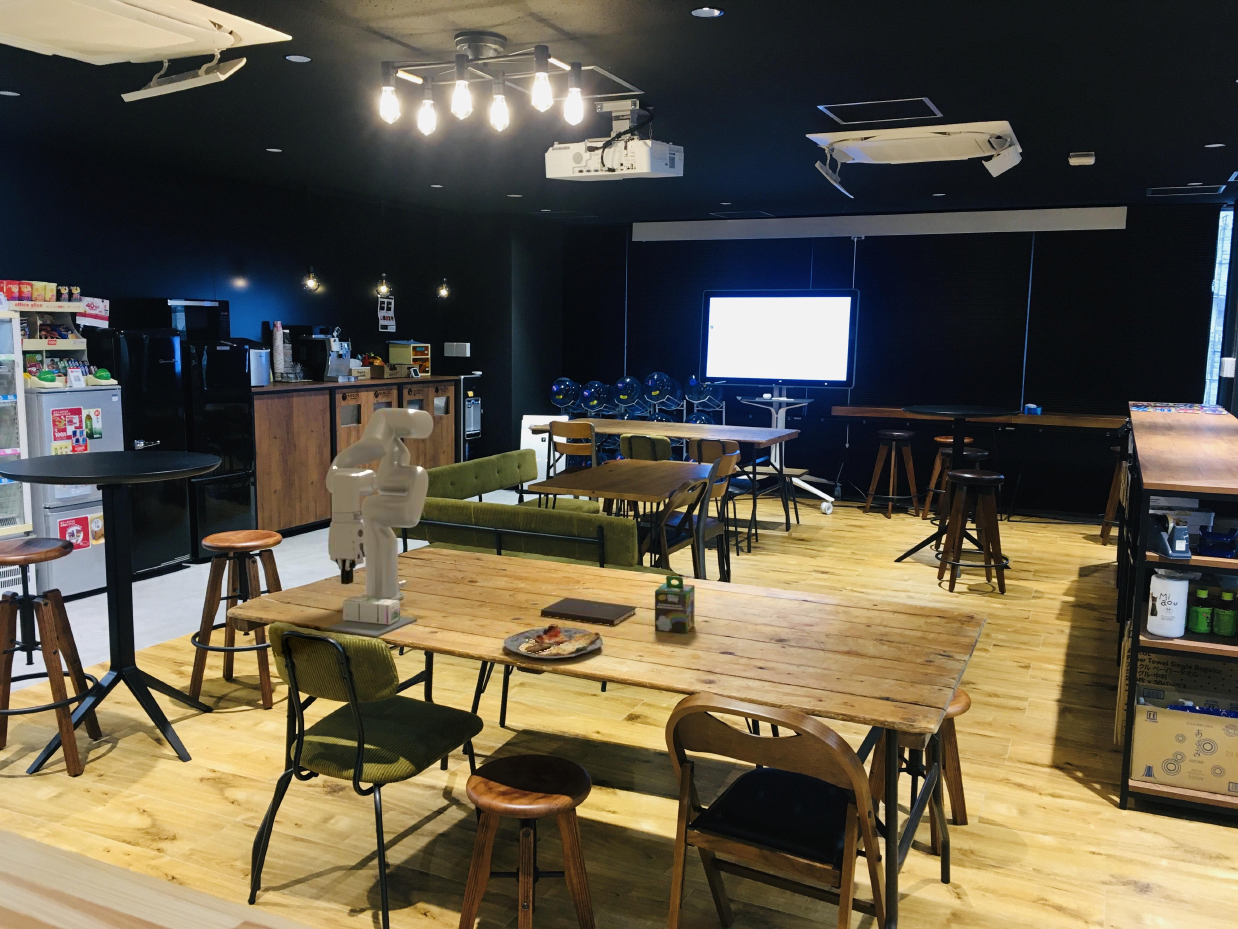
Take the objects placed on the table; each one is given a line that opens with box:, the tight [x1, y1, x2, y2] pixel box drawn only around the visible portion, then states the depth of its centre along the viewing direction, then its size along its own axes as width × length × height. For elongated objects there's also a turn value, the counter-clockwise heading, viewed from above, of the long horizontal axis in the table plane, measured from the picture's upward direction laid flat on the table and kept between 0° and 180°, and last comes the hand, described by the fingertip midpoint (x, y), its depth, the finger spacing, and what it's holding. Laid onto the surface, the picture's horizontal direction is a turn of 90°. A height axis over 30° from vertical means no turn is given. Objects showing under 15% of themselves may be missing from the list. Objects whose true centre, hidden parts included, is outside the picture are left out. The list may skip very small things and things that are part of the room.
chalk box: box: [654, 575, 696, 635], centre depth 266 cm, size 9×9×15 cm
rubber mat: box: [327, 615, 418, 638], centre depth 265 cm, size 18×16×1 cm
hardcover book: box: [540, 597, 638, 626], centre depth 280 cm, size 16×23×2 cm
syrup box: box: [342, 596, 401, 625], centre depth 267 cm, size 6×6×14 cm
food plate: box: [503, 624, 604, 661], centre depth 247 cm, size 25×23×4 cm
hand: (347, 583), depth 267 cm, fingers closed
